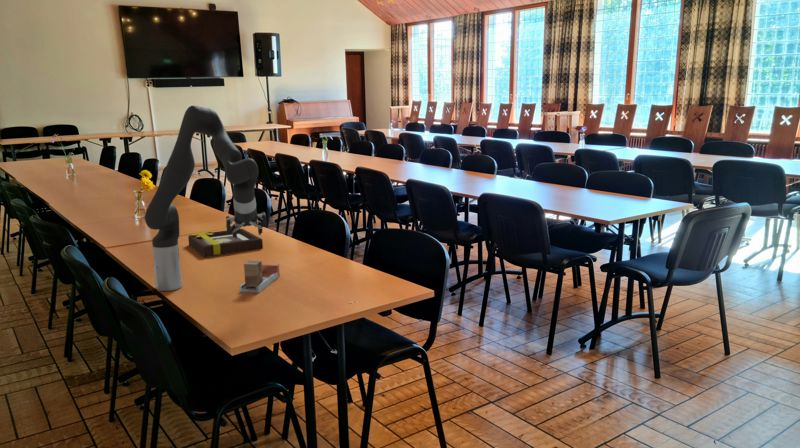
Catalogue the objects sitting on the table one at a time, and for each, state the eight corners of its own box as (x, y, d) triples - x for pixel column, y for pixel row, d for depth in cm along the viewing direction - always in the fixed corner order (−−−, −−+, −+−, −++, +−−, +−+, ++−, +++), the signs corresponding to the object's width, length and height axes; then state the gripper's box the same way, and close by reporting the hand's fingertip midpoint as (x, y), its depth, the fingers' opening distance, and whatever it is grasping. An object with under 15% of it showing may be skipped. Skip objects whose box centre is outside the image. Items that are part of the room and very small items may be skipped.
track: (258, 293, 229) (257, 280, 228) (239, 292, 230) (238, 279, 229) (279, 276, 250) (279, 264, 249) (262, 275, 251) (261, 263, 250)
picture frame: (204, 244, 278) (187, 232, 303) (205, 258, 279) (188, 245, 304) (262, 236, 293) (242, 225, 318) (263, 250, 294) (242, 238, 319)
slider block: (257, 287, 231) (256, 264, 229) (245, 286, 232) (243, 263, 230) (262, 283, 236) (261, 260, 234) (250, 282, 237) (249, 260, 235)
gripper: (263, 194, 215) (265, 224, 227) (222, 200, 211) (226, 230, 223) (267, 210, 210) (268, 239, 222) (225, 215, 206) (229, 245, 218)
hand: (247, 234), depth 223 cm, fingers open, 8 cm apart
